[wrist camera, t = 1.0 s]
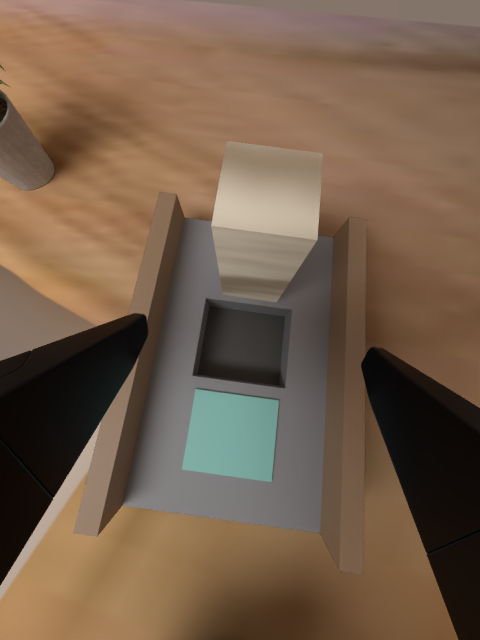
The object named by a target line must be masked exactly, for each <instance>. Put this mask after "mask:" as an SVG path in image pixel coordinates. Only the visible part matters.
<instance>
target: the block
mask: <svg viewBox="0 0 480 640" xmlns="http://www.w3.org/2000/svg"><path fill="white" fill-rule="evenodd" d="M322 161H323V154H322V153H314V152H307V151H299V150H291V149H284V148H276V147H269V146H261V145H253V144H246V143H238V142H231V141H227V142H226V148H225V153H224V159H223V164H222V170H221V175H220V180H219V186H218V191H217V197H216V202H215V208H214V213H213V218H212V224H211V228H212V234H213V240H214V246H215V252H216V257H217V263H218V269H219V275H220V281H221V287H222V293H223V295H226V296H233V297H240V298H248V299H255V300H263V301H270V302H277V301H278V299H279V298H280V296H281V295H282V293H283V292H284V290H285V289H286V287H287V286H288V284H289V283H290V281H291V280H292V278H293V277H294V275H295V273H296V272H297V270H298V269H299V267H300V266H301V264H302V263H303V261H304V260H305V258H306V257H307V255H308V254H309V252H310V251H311V249H312V248H313V246H314V245H315V243H316V242H317V240H318V224H319V208H320V192H321V177H322Z"/></svg>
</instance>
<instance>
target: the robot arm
mask: <svg viewBox="0 0 480 640" xmlns="http://www.w3.org/2000/svg"><path fill="white" fill-rule="evenodd" d="M147 337H148V324H147V317H146V315H145V314H140V313H133V314H130V315H127V316H124V317H122V318H119V319H116V320H113V321H111V322H108V323H105V324H102V325H99V326H97V327H94V328H91V329H88V330H86V331H83V332H80V333H78V334H75V335H72V336H69V337H66V338H63V339H61V340H58V341H55V342H52V343H50V344H47V345H44V346H41V347H38V348H36V349H33V350H32V351H27V352H24V353H22V354H19V355H16V356H13V357H10V358H7V359H5V360H2V361H0V585H1V584H2V582H3V580H4V579H5V577H6V575H7V574H8V572H9V571H10V569H11V567H12V566H13V564H14V562H15V561H16V559H17V557H18V556H19V554H20V552H21V551H22V549H23V548H24V546H25V544H26V543H27V541H28V539H29V538H30V536H31V535H32V533H33V531H34V530H35V528H36V526H37V525H38V523H39V522H40V520H41V518H42V517H43V515H44V513H45V512H46V510H47V508H48V507H49V505H50V504H51V502H52V500H53V497H54V496H55V495H56V493H57V492H58V490H59V488H60V487H61V485H62V484H63V482H64V480H65V479H66V477H67V475H68V474H69V472H70V471H71V469H72V467H73V466H74V464H75V462H76V461H77V459H78V457H79V456H80V454H81V453H82V451H83V449H84V448H85V446H86V444H87V443H88V441H89V439H90V438H91V436H92V435H93V433H94V431H95V430H96V428H97V426H98V425H99V423H100V421H101V420H102V418H103V417H104V415H105V413H106V412H107V410H108V408H109V407H110V405H111V404H112V402H113V400H114V399H115V397H116V395H117V394H118V392H119V390H120V389H121V387H122V386H123V384H124V382H125V381H126V379H127V377H128V376H129V374H130V372H131V371H132V369H133V367H134V365H135V363H136V361H137V359H138V357H139V354H140V352H141V350H142V348H143V346H144V344H145V341H146V339H147ZM361 369H362V373H363V377H364V381H365V385H366V389H367V393H368V397H369V400H370V404H371V406H372V409H373V412H374V415H375V417H376V420H377V423H378V425H379V428H380V431H381V433H382V436H383V439H384V441H385V444H386V447H387V449H388V452H389V455H390V457H391V460H392V463H393V465H394V468H395V471H396V473H397V476H398V479H399V481H400V484H401V487H402V489H403V492H404V495H405V497H406V500H407V503H408V505H409V508H410V511H411V513H412V516H413V519H414V521H415V524H416V527H417V529H418V532H419V535H420V537H421V540H422V543H423V546H424V548H425V551H426V553H428V554H427V557H428V559H429V562H430V565H431V567H432V570H433V573H434V575H435V578H436V581H437V583H438V586H439V589H440V591H441V594H442V597H443V599H444V602H445V605H446V608H447V610H448V613H449V616H450V618H451V621H452V624H453V626H454V629H455V632H456V634H457V637H458V640H480V408H479V407H477V406H475V405H474V404H472V403H471V402H469V401H467V400H466V399H464V398H463V397H461V396H459V395H458V394H456V393H454V392H453V391H451V390H450V389H448V388H446V387H445V386H443V385H441V384H440V383H438V382H437V381H435V380H433V379H432V378H430V377H428V376H427V375H425V374H424V373H422V372H420V371H419V370H417V369H416V368H414V367H412V366H411V365H409V364H407V363H406V362H404V361H403V360H401V359H399V358H398V357H396V356H394V355H393V354H391V353H390V352H388V351H386V350H385V349H383V348H377V347H371V348H370V349H369V350H368V352H367V354H366V355H365V357H364V359H363V361H362V363H361Z"/></svg>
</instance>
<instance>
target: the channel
mask: <svg viewBox="0 0 480 640" xmlns="http://www.w3.org/2000/svg"><path fill="white" fill-rule="evenodd" d="M211 224H212V221H206V220H199V219H191V218H185V217H184V214H183V211H182V209H181V206H180V203H179V200H178V197H177V194H173V193H165V192H159V195H158V199H157V203H156V207H155V211H154V215H153V219H152V223H151V227H150V231H149V235H148V239H147V243H146V247H145V251H144V255H143V259H142V263H141V266H140V270H139V274H138V278H137V282H136V286H135V290H134V294H133V298H132V302H131V306H130V310H129V314H128V315H130V314H133V313H140V314H145V315H146V317H147V324H148V337H147V339H146V341H145V344H144V346H143V348H142V350H141V352H140V354H139V357H138V359H137V361H136V363H135V365H134V367H133V369H132V371H131V372H130V374H129V376H128V377H127V379H126V381H125V382H124V384H123V386H122V387H121V389H120V390H119V392H118V394H117V395H116V397H115V399H114V400H113V402H112V404H111V405H110V407H109V408H108V410H107V412H106V413H105V415H104V417H103V418H102V421H101V425H100V429H99V433H98V437H97V441H96V445H95V449H94V453H93V457H92V461H91V464H90V468H89V472H88V476H87V480H86V484H85V488H84V492H83V496H82V500H81V504H80V508H79V512H78V516H77V520H76V524H75V528H74V532H73V533H75V534H82V535H89V536H96V537H97V536H98V535H99V534H100V533H101V531H102V530H103V529H104V528H105V526H106V525H107V524H108V523H109V521H110V520H111V519H112V518H113V516H114V515H115V514H116V513H117V511H118V510H119V509H120V508H121V506H122V505H123V506H130V507H137V508H144V509H151V510H158V511H165V512H172V513H180V514H187V515H194V516H201V517H208V518H215V519H222V520H229V521H236V522H243V523H251V524H258V525H265V526H272V527H279V528H286V529H293V530H300V531H307V532H314V533H320V534H321V536H322V538H323V540H324V542H325V544H326V546H327V548H328V550H329V552H330V554H331V556H332V558H333V560H334V562H335V564H336V566H337V568H338V570H339V571H343V572H350V573H357V574H364V462H365V381H364V377H363V373H362V369H361V363H362V361H363V359H364V357H365V348H366V233H367V219H361V218H353V217H349V218H348V219H347V221H346V222H345V223H344V225H343V226H342V227H341V228H340V230H339V231H338V232H337V234H336V235H335V236H334V238H333V237H326V236H318V240H317V242H316V243H315V245H314V246H313V248H312V249H311V251H310V252H309V254H308V255H307V257H306V258H305V260H304V261H303V263H302V264H301V266H300V267H299V269H298V270H297V272H296V273H295V275H294V277H293V278H292V280H291V281H290V283H289V284H288V286H287V287H286V289H285V290H284V292H283V293H282V295H281V296H280V298H279V299H278V301H277V302H270V301H263V300H255V299H248V298H240V297H233V296H226V295H223V293H222V287H221V281H220V275H219V269H218V263H217V257H216V252H215V246H214V240H213V234H212V228H211Z"/></svg>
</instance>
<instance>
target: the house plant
mask: <svg viewBox="0 0 480 640" xmlns="http://www.w3.org/2000/svg"><path fill="white" fill-rule="evenodd" d="M0 67H1V68H2V69H3V67H2V66H1V65H0ZM3 70H4V69H3ZM0 84H4V85H7V84H5V83H4V82H2V81H1V80H0ZM7 86H8V85H7ZM9 87H10V86H9ZM53 175H54V165H53V163H52V161H51V160H50V158H49V157H48V155H47V154H46V152H45V151H44V149H43V148H42V146H41V145H40V144H39V142H38V141H37V139H36V138H35V136H34V135H33V133H32V132H31V130H30V129H29V127H28V126H27V125H26V123H25V122H24V120H23V119H22V117H21V116H20V114H19V113H18V111H17V110H16V109H15V107H14V106H13V104H12V103H11V101H10V100H9V98H8V97H7V95H6V94H5V93H3V92H2V91H1V90H0V177H1V178H3V179H4V180H6V181H7V182H9V183H10V184H12V185H14V186H15V187H17V188H19V189H22V190H34V189H37V188H39V187H42V186H44V185H45V184H47V183H48V182H49V181H50V180H51V179H52V177H53Z"/></svg>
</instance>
